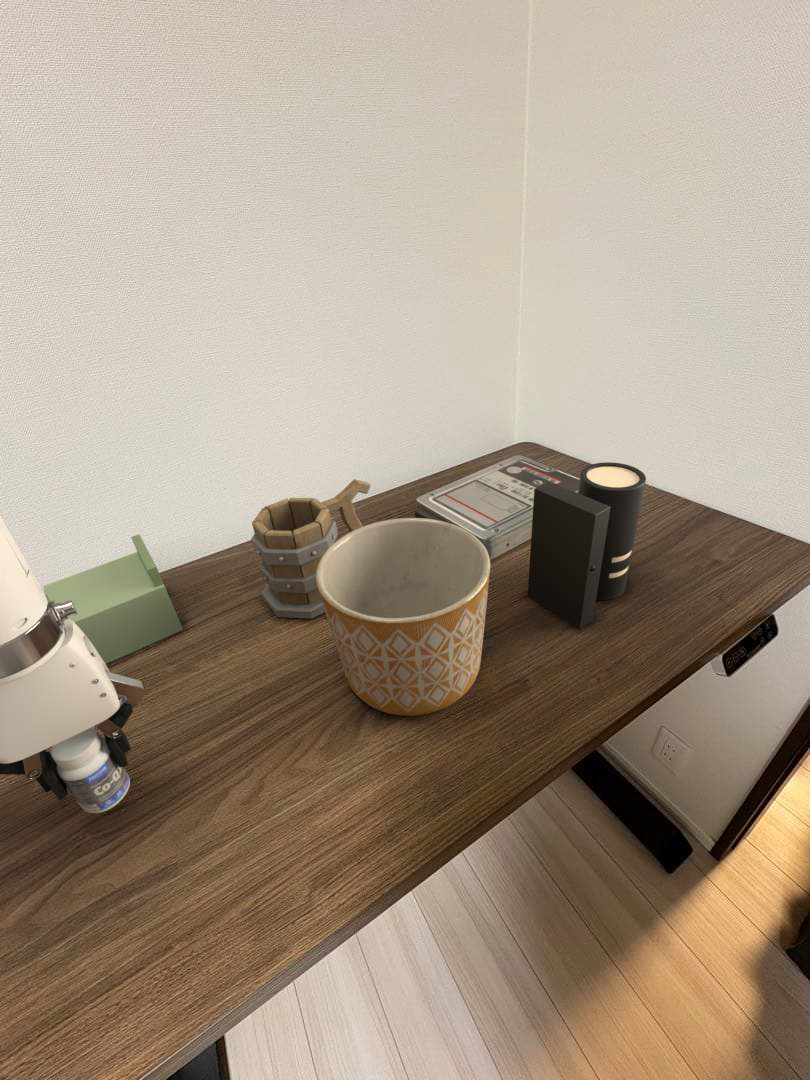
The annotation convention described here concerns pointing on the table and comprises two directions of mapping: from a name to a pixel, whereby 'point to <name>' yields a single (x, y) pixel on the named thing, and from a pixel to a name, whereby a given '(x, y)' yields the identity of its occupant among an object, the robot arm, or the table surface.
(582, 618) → the light fixture
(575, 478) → the hard drive
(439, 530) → the planter
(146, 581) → the green block with fin
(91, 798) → the pill bottle
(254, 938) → the table surface
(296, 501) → the tankard
